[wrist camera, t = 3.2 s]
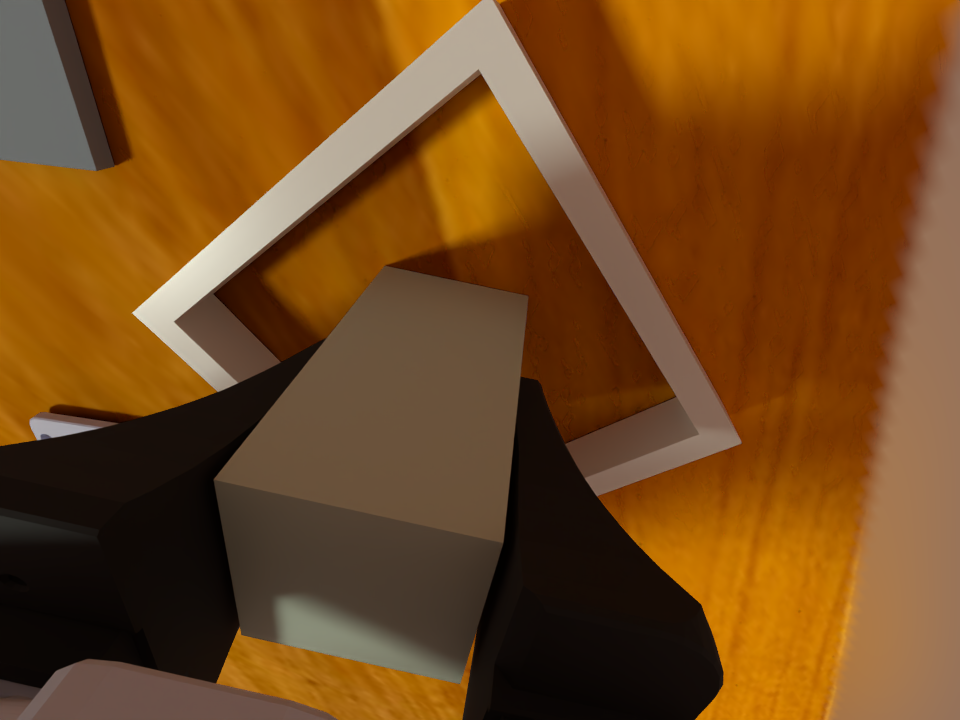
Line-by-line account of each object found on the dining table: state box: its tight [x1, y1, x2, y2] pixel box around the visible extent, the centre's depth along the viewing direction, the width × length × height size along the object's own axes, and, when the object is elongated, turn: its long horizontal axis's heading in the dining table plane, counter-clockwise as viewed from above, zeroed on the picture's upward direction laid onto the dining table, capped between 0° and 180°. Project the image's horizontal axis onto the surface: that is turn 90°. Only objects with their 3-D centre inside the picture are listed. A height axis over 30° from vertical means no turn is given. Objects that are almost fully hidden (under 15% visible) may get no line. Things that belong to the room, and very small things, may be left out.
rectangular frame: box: [133, 0, 742, 496], centre depth 14 cm, size 12×12×2 cm
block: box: [214, 266, 528, 684], centre depth 11 cm, size 4×4×8 cm
